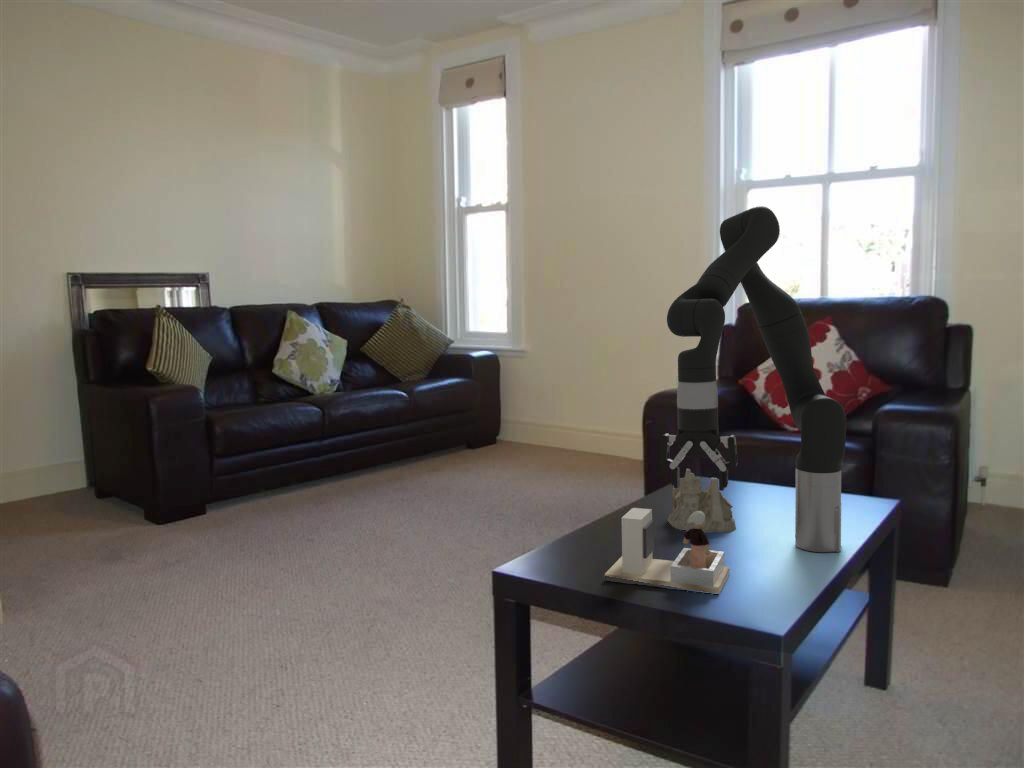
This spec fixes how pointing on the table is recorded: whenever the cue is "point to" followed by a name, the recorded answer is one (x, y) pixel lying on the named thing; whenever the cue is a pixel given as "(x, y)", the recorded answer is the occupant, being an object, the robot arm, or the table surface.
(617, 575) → the cream base plate
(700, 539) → the grandmother figurine
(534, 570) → the table surface
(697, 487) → the beige jagged towered block
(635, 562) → the white box with panel
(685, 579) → the slot walls
